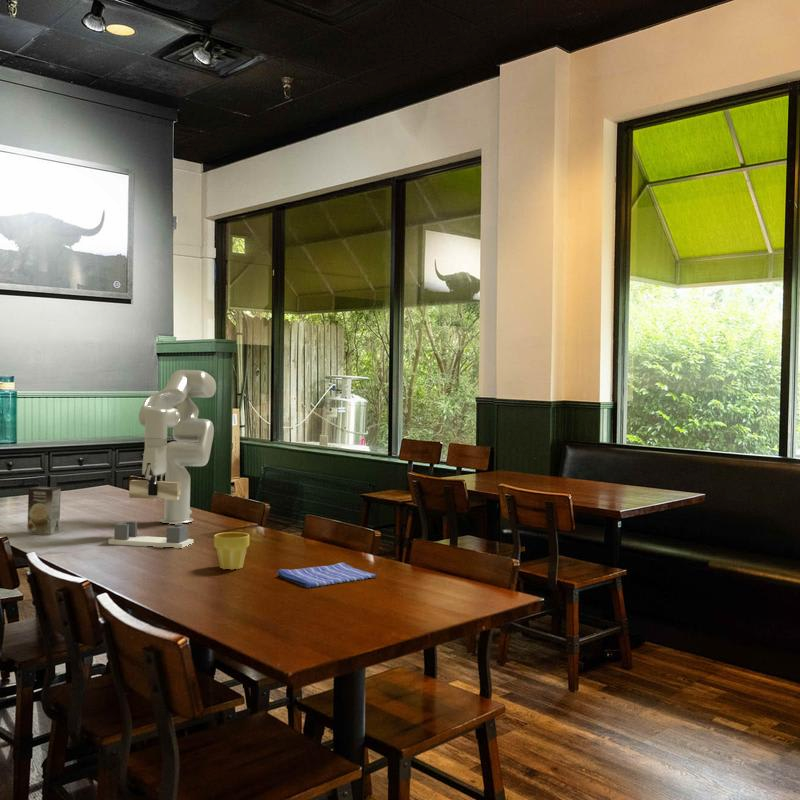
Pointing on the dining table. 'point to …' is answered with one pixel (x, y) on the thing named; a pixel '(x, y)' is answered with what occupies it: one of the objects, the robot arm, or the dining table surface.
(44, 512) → the coffee box
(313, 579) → the dish towel
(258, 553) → the dining table surface
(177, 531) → the end cap board
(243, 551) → the plant pot
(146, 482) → the slat
